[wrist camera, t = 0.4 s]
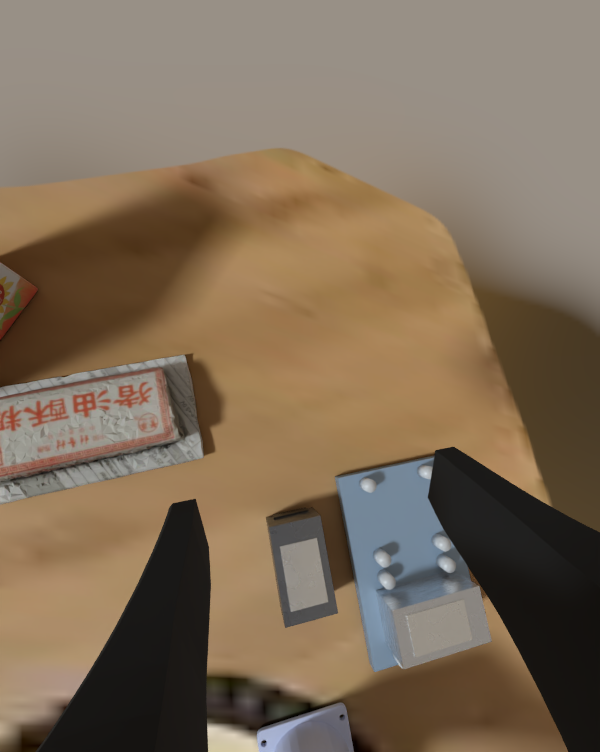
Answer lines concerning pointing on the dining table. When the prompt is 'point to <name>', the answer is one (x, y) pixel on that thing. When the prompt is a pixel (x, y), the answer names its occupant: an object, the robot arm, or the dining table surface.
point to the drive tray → (392, 539)
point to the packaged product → (96, 427)
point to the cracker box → (12, 297)
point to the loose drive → (301, 566)
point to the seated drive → (432, 618)
